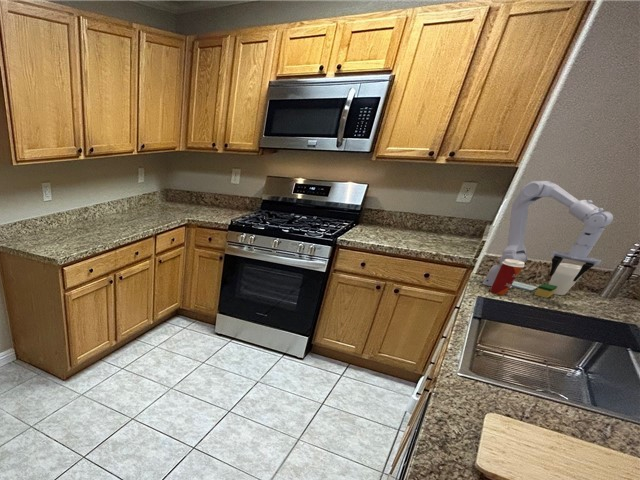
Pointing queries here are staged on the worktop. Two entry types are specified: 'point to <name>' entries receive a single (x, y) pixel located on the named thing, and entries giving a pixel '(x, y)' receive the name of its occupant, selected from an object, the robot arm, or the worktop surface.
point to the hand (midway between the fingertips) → (562, 278)
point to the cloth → (523, 286)
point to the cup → (564, 277)
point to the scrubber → (545, 290)
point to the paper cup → (506, 276)
